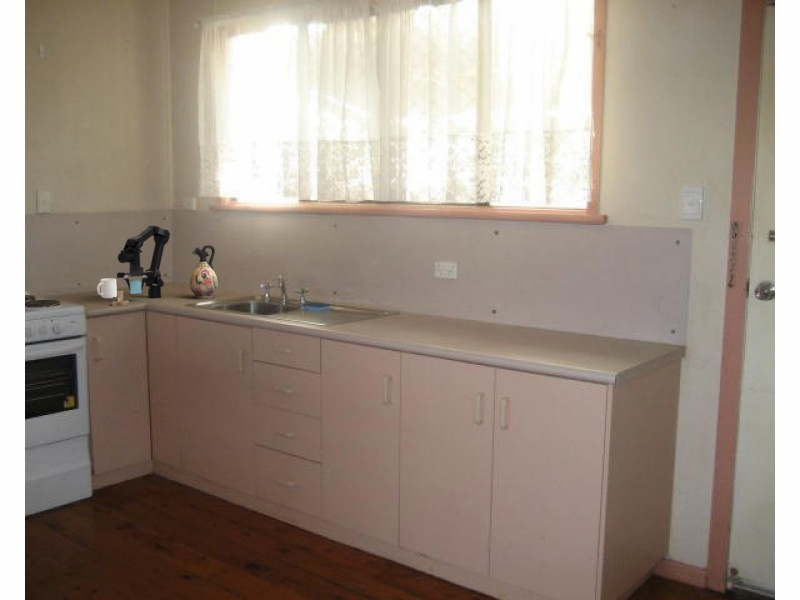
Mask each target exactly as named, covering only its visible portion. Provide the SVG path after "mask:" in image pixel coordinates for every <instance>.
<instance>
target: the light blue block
mask: <svg viewBox="0 0 800 600" xmlns="http://www.w3.org/2000/svg"><path fill="white" fill-rule="evenodd" d="M129 282H130V290H131V291H130V290H129V291H130V294H131V295H132V294H133V295H134V294H142V291H143V290H141V285H142V279H135V280H134V279H133V280H130V279H129Z"/></svg>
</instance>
